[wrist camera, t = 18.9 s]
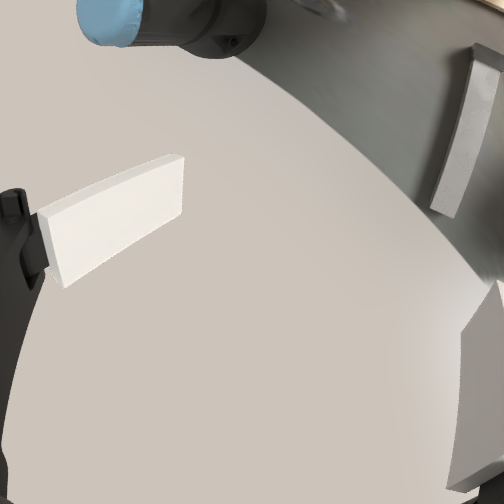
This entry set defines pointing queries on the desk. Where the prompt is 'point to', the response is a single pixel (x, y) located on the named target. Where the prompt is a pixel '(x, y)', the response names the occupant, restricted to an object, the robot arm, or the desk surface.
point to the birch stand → (494, 4)
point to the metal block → (468, 129)
